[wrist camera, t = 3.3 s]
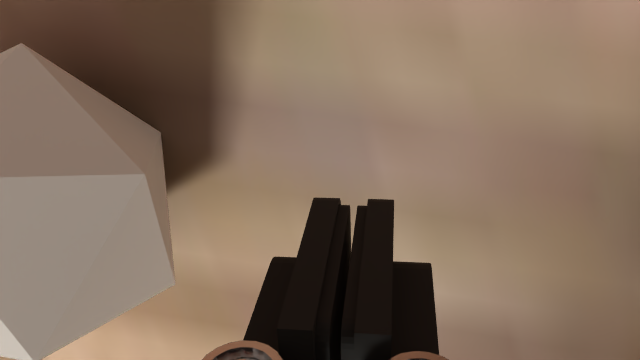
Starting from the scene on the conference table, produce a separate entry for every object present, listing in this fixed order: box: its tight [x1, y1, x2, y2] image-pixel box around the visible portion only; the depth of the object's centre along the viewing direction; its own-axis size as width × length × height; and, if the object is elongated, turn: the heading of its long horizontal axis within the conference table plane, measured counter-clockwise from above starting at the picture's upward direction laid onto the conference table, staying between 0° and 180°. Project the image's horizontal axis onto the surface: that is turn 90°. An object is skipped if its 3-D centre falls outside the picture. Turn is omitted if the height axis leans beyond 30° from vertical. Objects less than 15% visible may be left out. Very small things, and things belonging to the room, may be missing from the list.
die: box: [0, 43, 175, 360], centre depth 16 cm, size 8×9×10 cm
